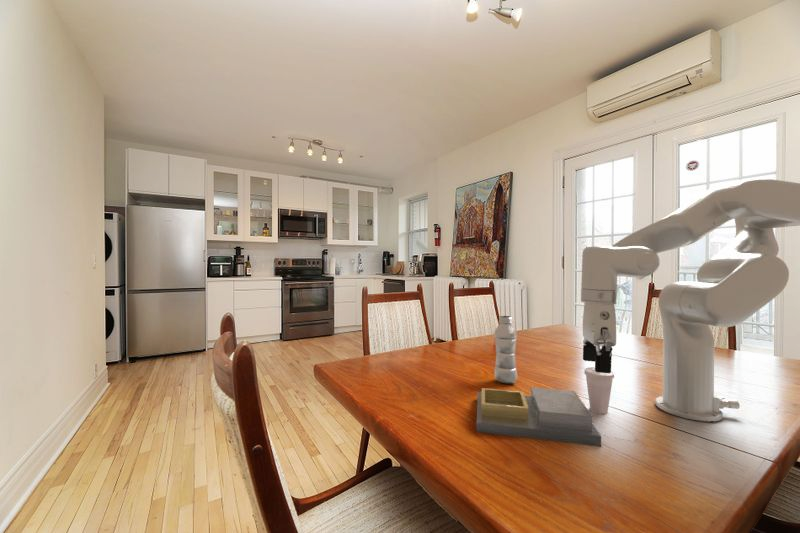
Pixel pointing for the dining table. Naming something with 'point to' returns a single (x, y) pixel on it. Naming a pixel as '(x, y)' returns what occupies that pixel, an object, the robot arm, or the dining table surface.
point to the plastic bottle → (505, 351)
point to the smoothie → (598, 389)
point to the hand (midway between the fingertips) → (595, 366)
